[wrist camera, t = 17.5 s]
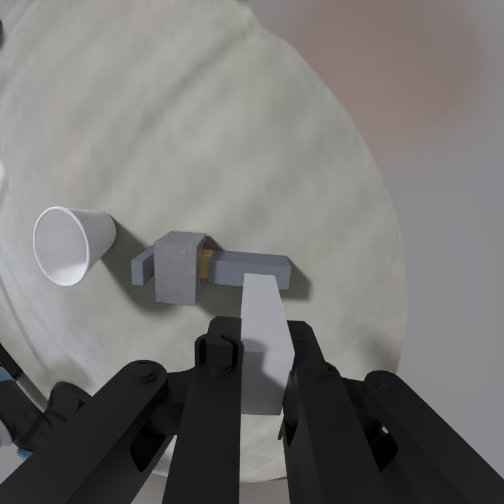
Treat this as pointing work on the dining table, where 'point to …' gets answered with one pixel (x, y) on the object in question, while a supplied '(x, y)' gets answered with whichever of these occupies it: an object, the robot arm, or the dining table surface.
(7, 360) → the graphics card box
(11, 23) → the dining table surface
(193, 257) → the grey block
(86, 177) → the dining table surface
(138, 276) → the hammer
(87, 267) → the cup
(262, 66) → the dining table surface
